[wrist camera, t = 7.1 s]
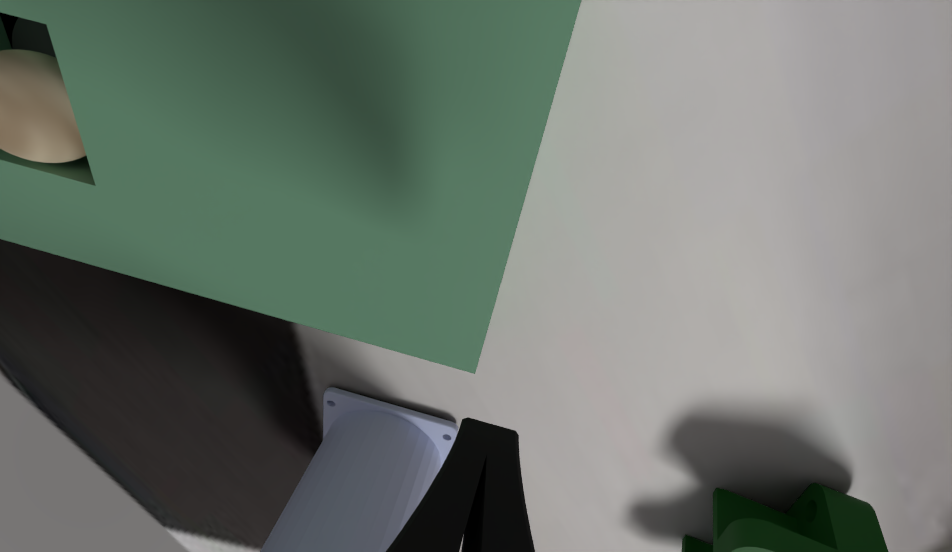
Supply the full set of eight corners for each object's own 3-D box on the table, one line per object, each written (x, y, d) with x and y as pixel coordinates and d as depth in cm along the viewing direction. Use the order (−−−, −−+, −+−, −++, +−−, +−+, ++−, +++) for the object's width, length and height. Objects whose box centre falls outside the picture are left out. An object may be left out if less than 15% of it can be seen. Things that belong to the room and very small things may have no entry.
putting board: (581, -9, 13) (584, -11, 11) (486, 329, 21) (475, 373, 19) (-124, -179, 15) (-269, -217, 12) (30, 202, 22) (-39, 227, 20)
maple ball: (145, 155, 19) (48, 197, 16) (71, 118, 20) (-37, 153, 17) (118, 63, 17) (-5, 95, 14) (32, 22, 17) (-104, 44, 14)
